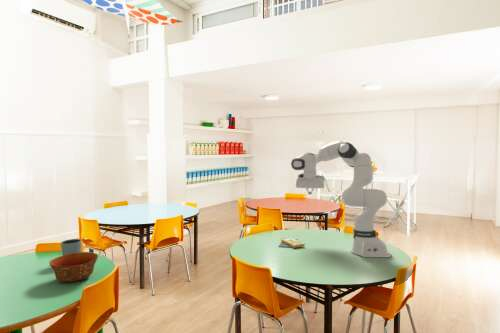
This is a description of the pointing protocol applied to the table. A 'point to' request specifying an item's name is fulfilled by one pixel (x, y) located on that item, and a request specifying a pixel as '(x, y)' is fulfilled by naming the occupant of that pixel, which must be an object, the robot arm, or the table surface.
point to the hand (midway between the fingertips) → (309, 194)
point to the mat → (285, 245)
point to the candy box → (293, 242)
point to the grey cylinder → (71, 246)
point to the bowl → (73, 266)
